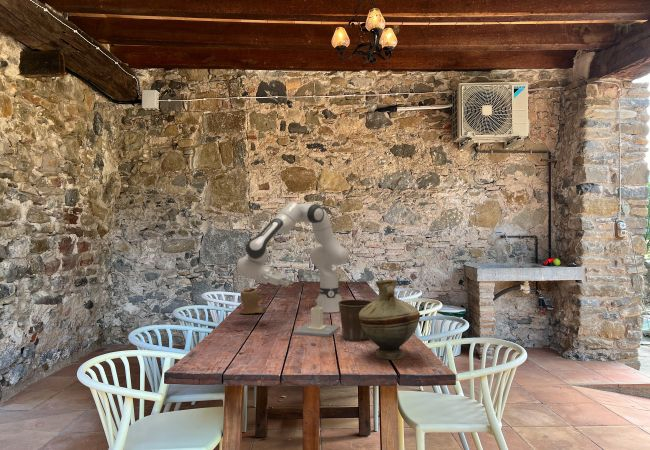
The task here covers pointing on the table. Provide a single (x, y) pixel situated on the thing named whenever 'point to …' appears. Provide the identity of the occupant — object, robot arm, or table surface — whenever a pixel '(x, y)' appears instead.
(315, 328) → the collar
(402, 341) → the brown ceramic vase
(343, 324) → the plant pot
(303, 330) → the post plate
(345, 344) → the table surface
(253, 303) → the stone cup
